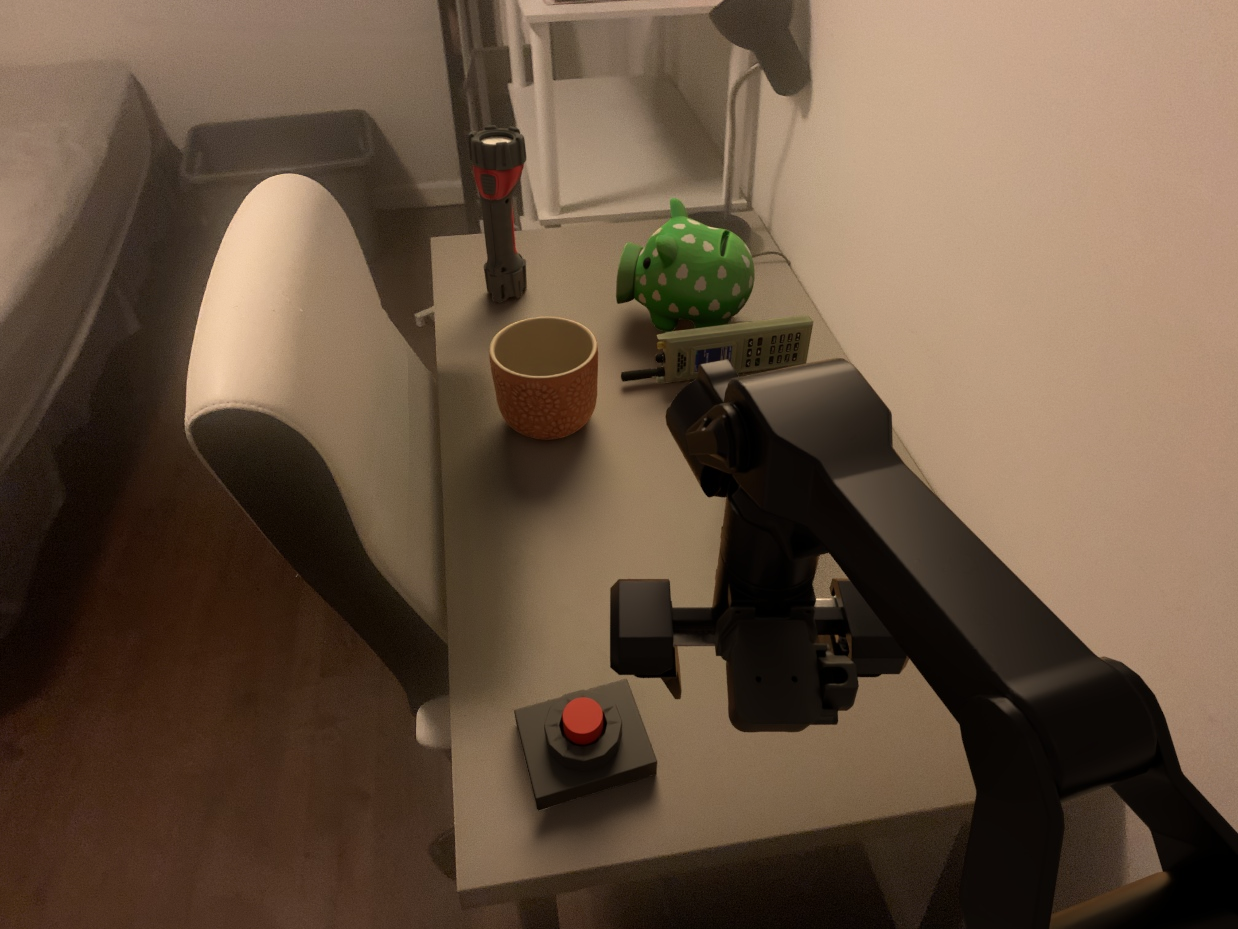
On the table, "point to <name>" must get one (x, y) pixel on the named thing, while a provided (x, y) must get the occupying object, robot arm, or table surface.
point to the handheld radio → (730, 348)
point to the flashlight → (499, 206)
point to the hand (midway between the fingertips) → (741, 693)
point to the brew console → (584, 747)
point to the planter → (545, 376)
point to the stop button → (582, 721)
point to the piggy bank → (687, 273)
